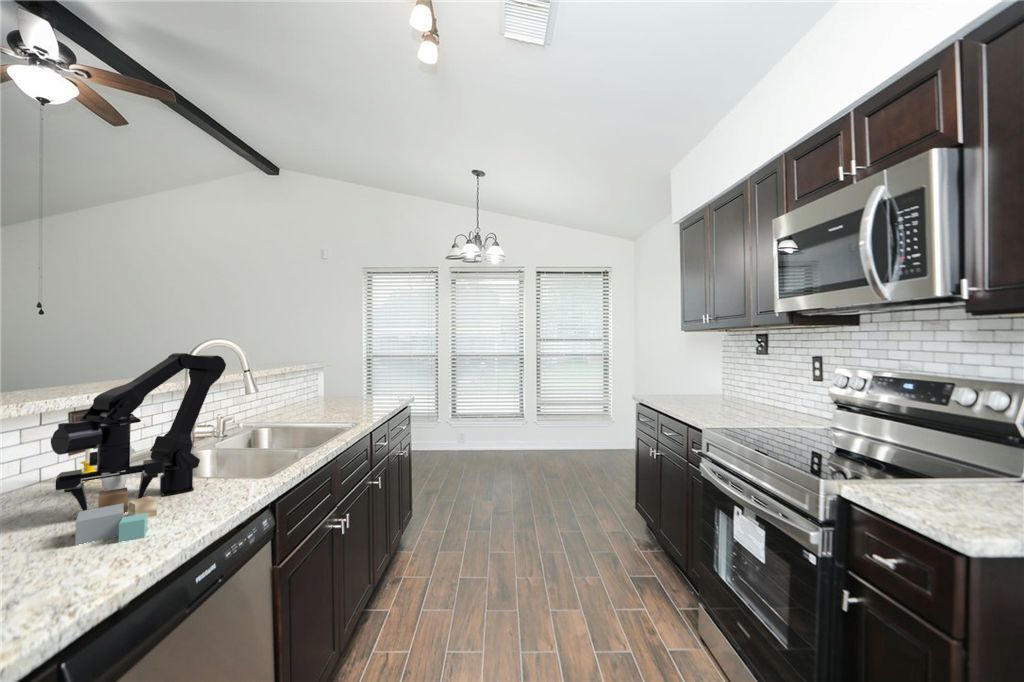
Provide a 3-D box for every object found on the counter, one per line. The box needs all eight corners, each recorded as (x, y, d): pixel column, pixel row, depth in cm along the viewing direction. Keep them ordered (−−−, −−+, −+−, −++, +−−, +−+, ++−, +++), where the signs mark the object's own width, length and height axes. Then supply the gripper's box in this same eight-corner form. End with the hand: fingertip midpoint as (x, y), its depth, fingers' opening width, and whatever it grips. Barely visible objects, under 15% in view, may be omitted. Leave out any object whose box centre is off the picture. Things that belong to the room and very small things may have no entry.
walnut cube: (126, 507, 103) (127, 487, 103) (127, 513, 100) (127, 492, 100) (98, 512, 100) (98, 492, 100) (98, 519, 96) (98, 497, 96)
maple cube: (149, 512, 100) (150, 495, 100) (156, 515, 98) (157, 499, 98) (128, 518, 97) (128, 501, 97) (135, 522, 95) (135, 504, 95)
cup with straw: (85, 493, 112) (86, 420, 112) (124, 482, 121) (125, 414, 121) (105, 496, 110) (106, 422, 110) (144, 485, 118) (145, 416, 118)
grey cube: (123, 525, 93) (123, 503, 93) (122, 535, 88) (123, 512, 88) (78, 534, 88) (79, 511, 88) (75, 546, 83) (75, 522, 83)
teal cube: (147, 531, 90) (147, 512, 90) (144, 538, 87) (144, 519, 87) (122, 535, 88) (123, 517, 88) (118, 543, 85) (118, 523, 85)
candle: (87, 476, 126) (88, 426, 126) (106, 476, 126) (106, 425, 126) (70, 482, 120) (71, 429, 120) (89, 482, 121) (90, 429, 121)
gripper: (161, 433, 112) (160, 490, 112) (60, 444, 99) (58, 509, 99) (165, 440, 104) (164, 501, 104) (55, 453, 91) (54, 523, 91)
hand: (113, 508), depth 100 cm, fingers open, 9 cm apart
